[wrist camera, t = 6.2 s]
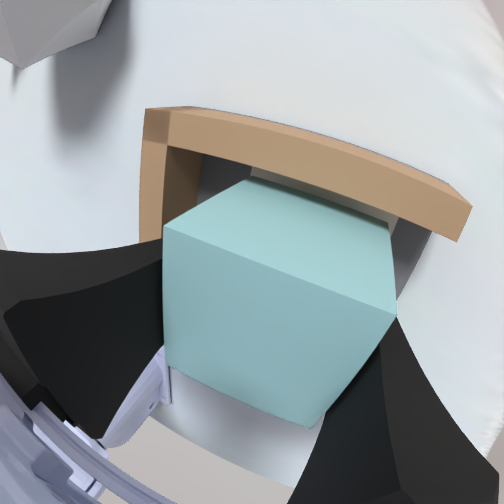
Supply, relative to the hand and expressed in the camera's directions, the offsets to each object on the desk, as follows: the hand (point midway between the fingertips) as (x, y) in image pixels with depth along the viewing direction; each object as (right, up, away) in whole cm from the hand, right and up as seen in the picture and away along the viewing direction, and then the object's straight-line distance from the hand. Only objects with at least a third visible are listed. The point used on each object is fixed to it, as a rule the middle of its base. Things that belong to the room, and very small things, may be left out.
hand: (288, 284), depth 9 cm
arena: (0, +1, +3) cm, 4 cm away
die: (-10, +16, 0) cm, 19 cm away
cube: (+1, +1, +1) cm, 2 cm away
